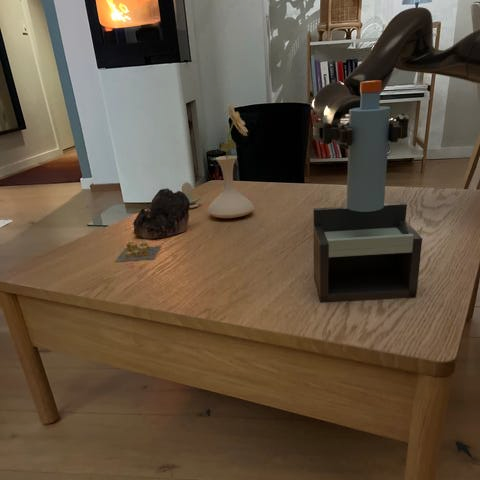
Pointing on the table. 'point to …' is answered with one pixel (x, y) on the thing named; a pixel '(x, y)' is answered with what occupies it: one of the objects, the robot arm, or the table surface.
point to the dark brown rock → (163, 215)
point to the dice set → (138, 252)
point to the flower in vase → (230, 179)
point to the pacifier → (189, 194)
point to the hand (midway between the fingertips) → (372, 135)
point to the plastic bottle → (368, 151)
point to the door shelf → (365, 254)
